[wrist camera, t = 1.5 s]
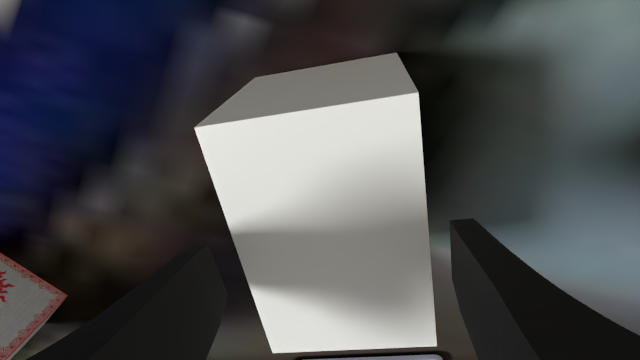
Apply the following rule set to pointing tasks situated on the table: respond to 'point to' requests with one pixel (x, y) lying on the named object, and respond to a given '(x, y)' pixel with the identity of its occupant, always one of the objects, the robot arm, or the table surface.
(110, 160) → the table surface
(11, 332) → the tea bag
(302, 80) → the cover
